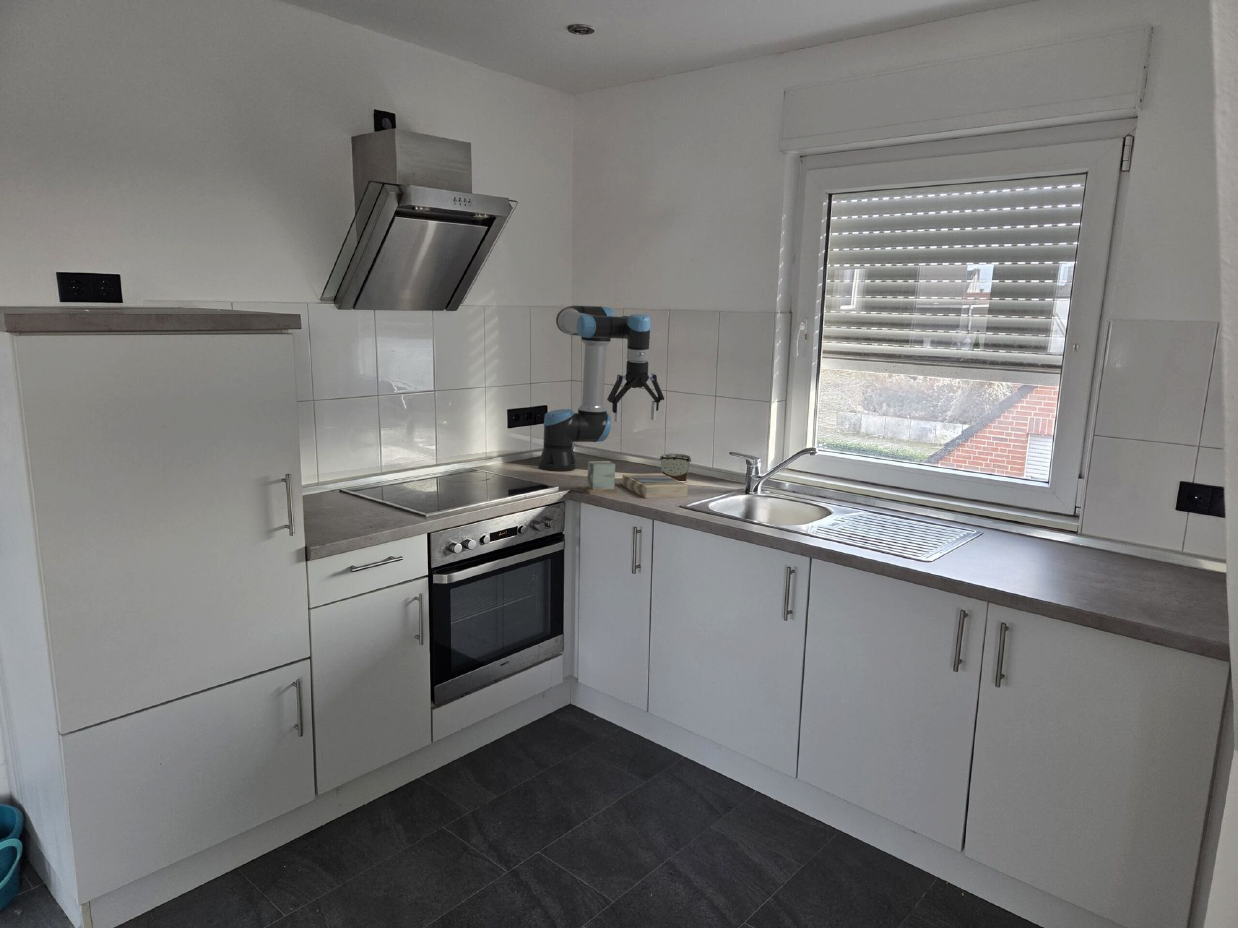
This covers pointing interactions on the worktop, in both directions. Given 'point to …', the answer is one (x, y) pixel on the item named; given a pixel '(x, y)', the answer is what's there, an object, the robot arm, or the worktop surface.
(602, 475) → the pale green block
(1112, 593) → the worktop surface
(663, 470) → the food container
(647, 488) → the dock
